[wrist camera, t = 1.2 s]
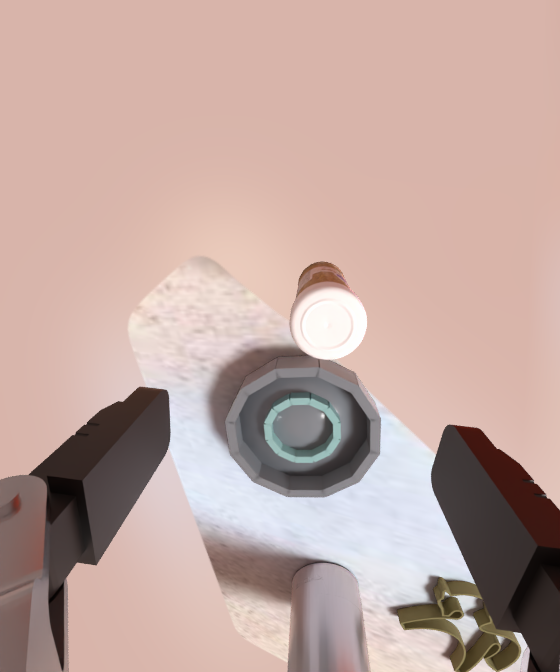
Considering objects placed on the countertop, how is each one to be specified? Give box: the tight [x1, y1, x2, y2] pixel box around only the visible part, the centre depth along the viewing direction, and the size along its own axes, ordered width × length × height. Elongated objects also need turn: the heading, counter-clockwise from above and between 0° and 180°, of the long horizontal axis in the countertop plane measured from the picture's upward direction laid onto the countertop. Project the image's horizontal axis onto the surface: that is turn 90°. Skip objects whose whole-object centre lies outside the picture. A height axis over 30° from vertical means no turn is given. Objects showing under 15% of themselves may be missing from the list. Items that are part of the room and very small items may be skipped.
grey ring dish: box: [225, 356, 381, 497], centre depth 35 cm, size 16×16×3 cm
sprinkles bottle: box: [290, 262, 367, 360], centre depth 25 cm, size 5×5×13 cm
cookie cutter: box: [397, 577, 521, 672], centre depth 44 cm, size 18×12×2 cm, turn 45°
